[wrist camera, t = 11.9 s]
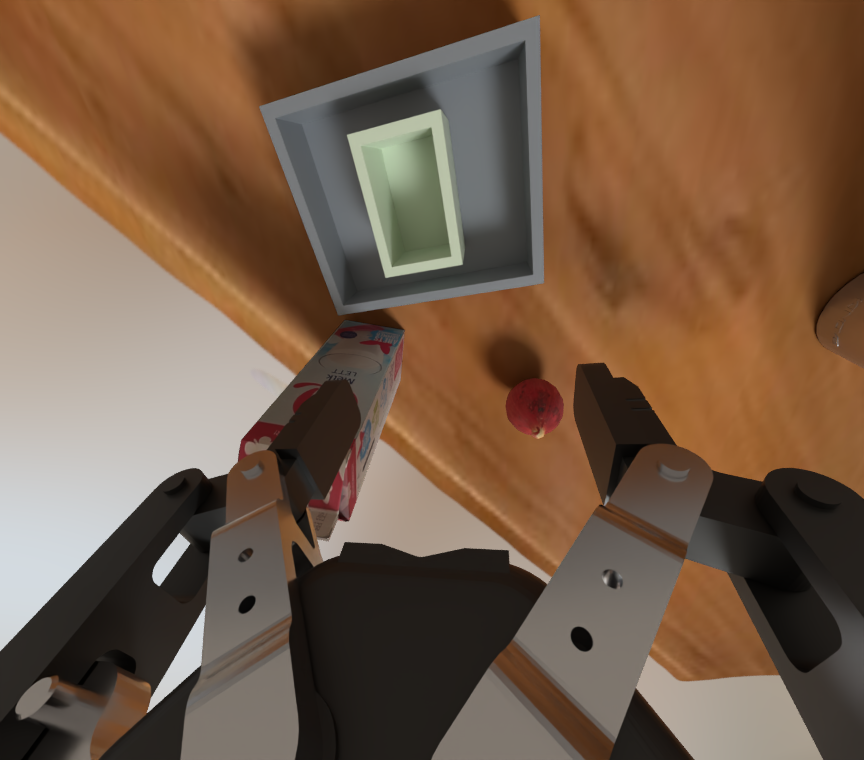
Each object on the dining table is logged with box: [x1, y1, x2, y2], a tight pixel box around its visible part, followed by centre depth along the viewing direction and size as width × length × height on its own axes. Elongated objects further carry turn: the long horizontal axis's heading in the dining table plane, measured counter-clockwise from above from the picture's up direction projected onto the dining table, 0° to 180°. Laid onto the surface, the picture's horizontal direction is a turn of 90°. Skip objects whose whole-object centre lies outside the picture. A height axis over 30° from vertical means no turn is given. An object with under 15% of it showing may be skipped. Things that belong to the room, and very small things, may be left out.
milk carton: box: [238, 320, 405, 541], centre depth 28 cm, size 7×7×22 cm
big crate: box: [259, 15, 544, 315], centre depth 26 cm, size 18×15×5 cm
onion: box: [506, 378, 564, 439], centre depth 34 cm, size 6×6×8 cm
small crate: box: [347, 109, 465, 278], centre depth 24 cm, size 6×9×6 cm, turn 11°
